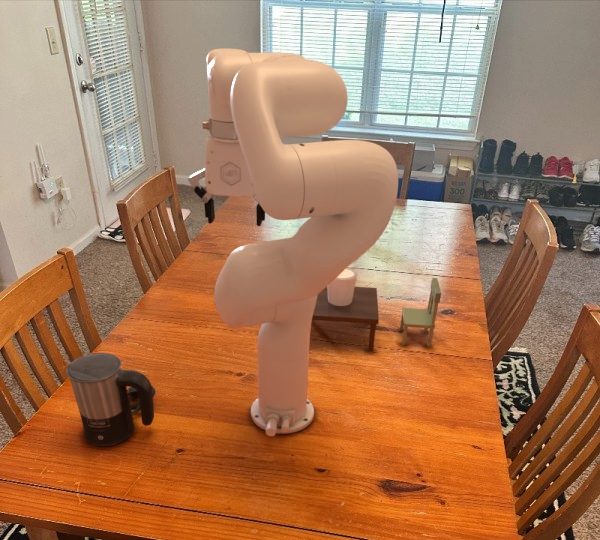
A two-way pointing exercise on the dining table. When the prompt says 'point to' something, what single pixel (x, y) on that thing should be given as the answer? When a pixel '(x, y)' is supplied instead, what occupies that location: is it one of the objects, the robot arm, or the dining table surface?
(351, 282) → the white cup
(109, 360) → the milk frother
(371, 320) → the model table
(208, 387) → the dining table surface
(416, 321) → the chair
